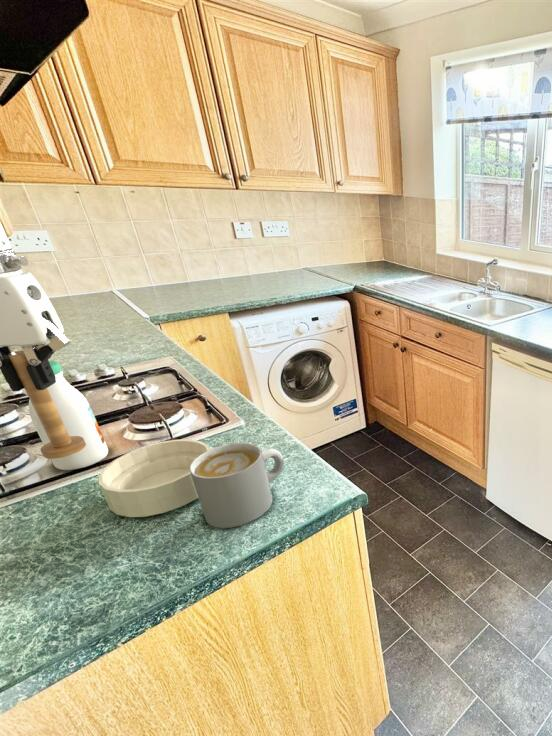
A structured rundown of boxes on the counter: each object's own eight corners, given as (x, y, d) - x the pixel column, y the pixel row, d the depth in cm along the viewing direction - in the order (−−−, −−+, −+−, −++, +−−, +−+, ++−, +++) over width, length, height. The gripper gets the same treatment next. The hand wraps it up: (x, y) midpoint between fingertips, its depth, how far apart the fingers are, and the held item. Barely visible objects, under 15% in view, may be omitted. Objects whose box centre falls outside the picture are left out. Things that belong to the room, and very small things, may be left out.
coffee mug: (214, 537, 66) (198, 486, 62) (198, 505, 72) (182, 457, 68) (301, 499, 75) (292, 453, 71) (280, 474, 81) (271, 429, 77)
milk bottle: (106, 463, 81) (65, 368, 72) (50, 476, 77) (0, 377, 68) (112, 444, 86) (75, 354, 78) (60, 455, 82) (15, 361, 74)
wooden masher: (38, 452, 68) (-12, 353, 61) (78, 438, 72) (36, 344, 65) (50, 462, 66) (0, 361, 59) (91, 447, 70) (49, 351, 63)
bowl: (94, 498, 72) (81, 470, 70) (191, 456, 84) (183, 431, 82) (137, 534, 66) (124, 504, 63) (235, 482, 78) (228, 456, 75)
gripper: (68, 260, 62) (112, 374, 69) (-76, 259, 57) (-13, 380, 65) (31, 269, 55) (84, 394, 63) (-135, 268, 51) (-56, 402, 59)
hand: (34, 386), depth 64 cm, fingers closed on wooden masher
